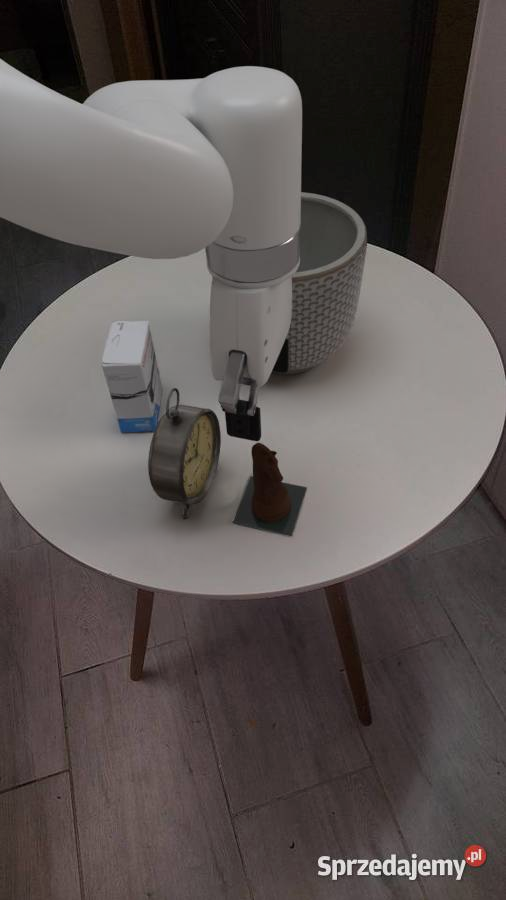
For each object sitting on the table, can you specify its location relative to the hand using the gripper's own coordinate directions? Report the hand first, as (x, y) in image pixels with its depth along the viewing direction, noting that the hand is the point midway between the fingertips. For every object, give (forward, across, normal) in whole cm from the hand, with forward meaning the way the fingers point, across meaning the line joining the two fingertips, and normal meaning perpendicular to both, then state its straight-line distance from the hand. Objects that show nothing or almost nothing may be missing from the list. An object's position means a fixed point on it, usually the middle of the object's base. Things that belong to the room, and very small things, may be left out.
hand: (259, 401), depth 67 cm
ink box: (+18, -11, -20) cm, 29 cm away
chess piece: (+17, 0, +1) cm, 17 cm away
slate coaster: (+17, 0, +1) cm, 17 cm away
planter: (+17, -28, -4) cm, 33 cm away
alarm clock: (+18, 0, -9) cm, 20 cm away
